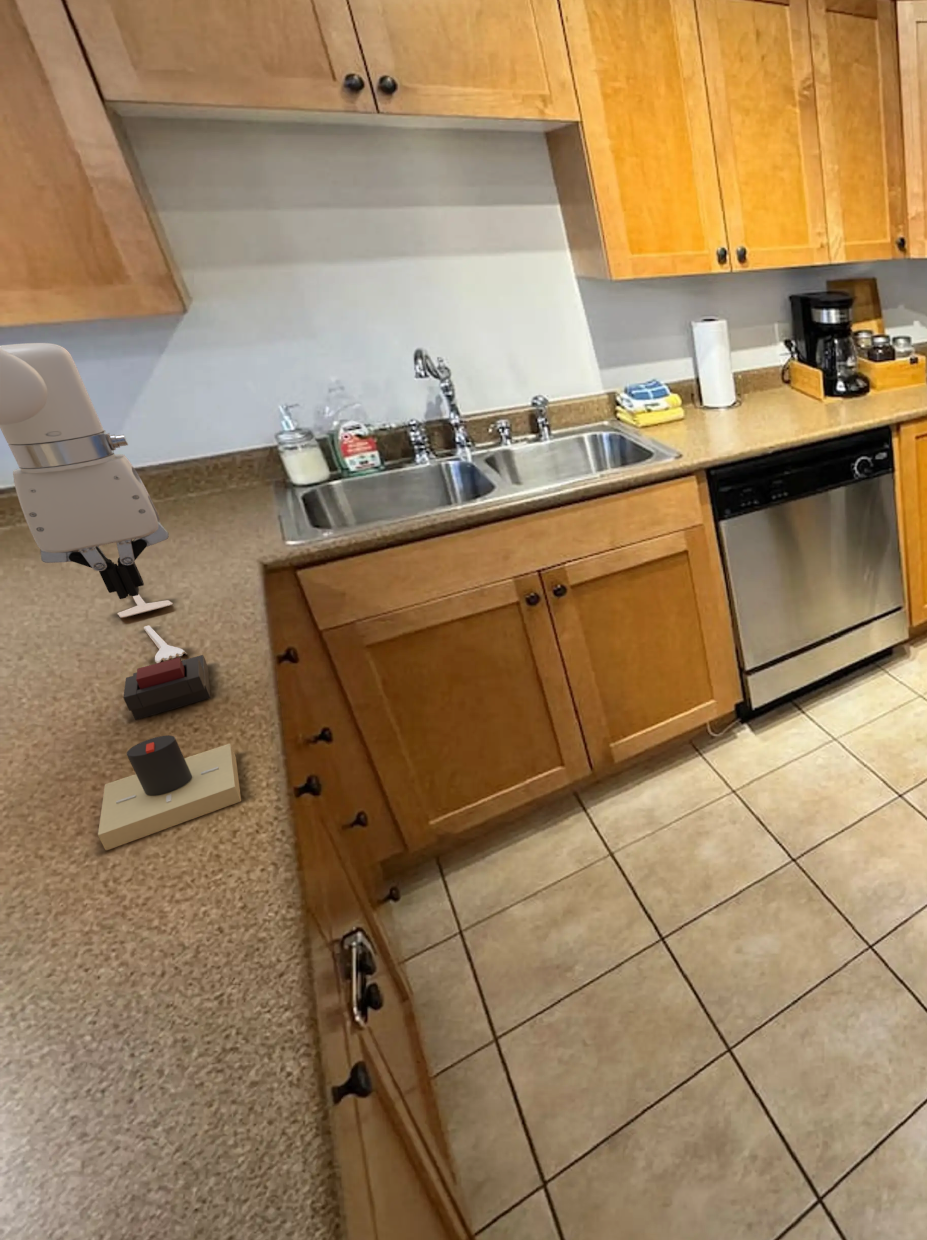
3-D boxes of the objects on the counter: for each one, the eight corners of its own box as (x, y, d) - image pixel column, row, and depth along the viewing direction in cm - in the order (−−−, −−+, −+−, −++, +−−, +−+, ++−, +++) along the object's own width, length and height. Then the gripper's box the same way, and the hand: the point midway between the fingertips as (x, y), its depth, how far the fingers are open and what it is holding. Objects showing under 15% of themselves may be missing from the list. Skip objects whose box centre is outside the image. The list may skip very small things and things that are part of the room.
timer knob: (145, 785, 82) (125, 743, 80) (192, 769, 84) (173, 728, 82) (144, 800, 79) (124, 758, 78) (192, 784, 82) (173, 742, 80)
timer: (112, 799, 83) (104, 782, 82) (236, 757, 90) (229, 741, 89) (105, 851, 76) (96, 833, 75) (241, 801, 82) (234, 785, 81)
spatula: (124, 625, 124) (120, 617, 123) (98, 583, 141) (95, 576, 140) (176, 611, 128) (173, 603, 128) (145, 572, 145) (142, 565, 145)
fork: (162, 626, 123) (157, 616, 122) (193, 661, 112) (188, 649, 111) (133, 634, 120) (129, 623, 120) (162, 670, 109) (157, 659, 109)
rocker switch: (138, 685, 106) (127, 660, 104) (208, 666, 110) (197, 642, 109) (135, 725, 96) (122, 697, 95) (211, 702, 101) (199, 676, 100)
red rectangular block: (142, 680, 100) (137, 668, 99) (184, 668, 103) (179, 657, 102) (141, 691, 97) (135, 679, 97) (185, 679, 100) (180, 667, 99)
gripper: (155, 435, 97) (209, 568, 103) (-30, 460, 87) (43, 604, 94) (154, 445, 92) (211, 584, 98) (-42, 472, 82) (36, 624, 89)
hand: (129, 593), depth 96 cm, fingers closed
